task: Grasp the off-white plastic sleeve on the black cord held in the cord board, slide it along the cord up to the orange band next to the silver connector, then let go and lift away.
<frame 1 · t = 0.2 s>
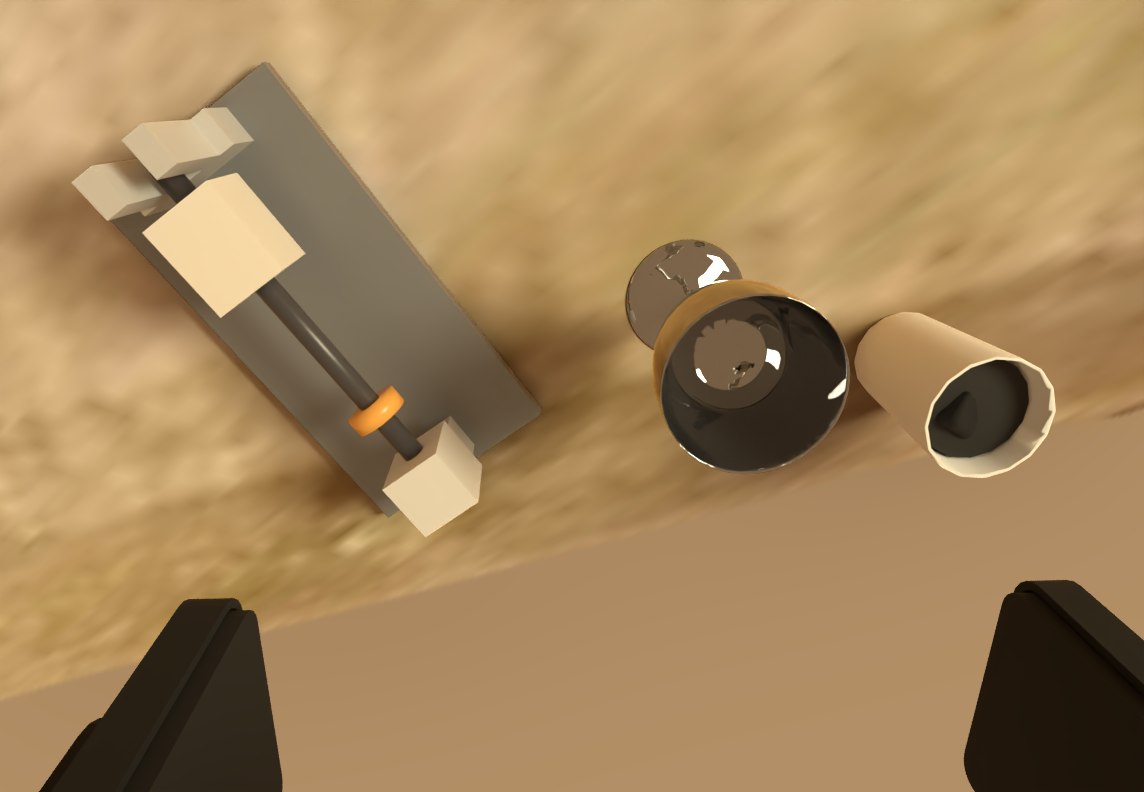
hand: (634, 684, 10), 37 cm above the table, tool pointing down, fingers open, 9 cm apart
beige cup: (898, 355, 48), on the table
wine glass: (685, 298, 46), on the table
cord board: (336, 310, 45), on the table
sleeve: (228, 243, 38), point 6 cm above the table, slide at -6.0 cm
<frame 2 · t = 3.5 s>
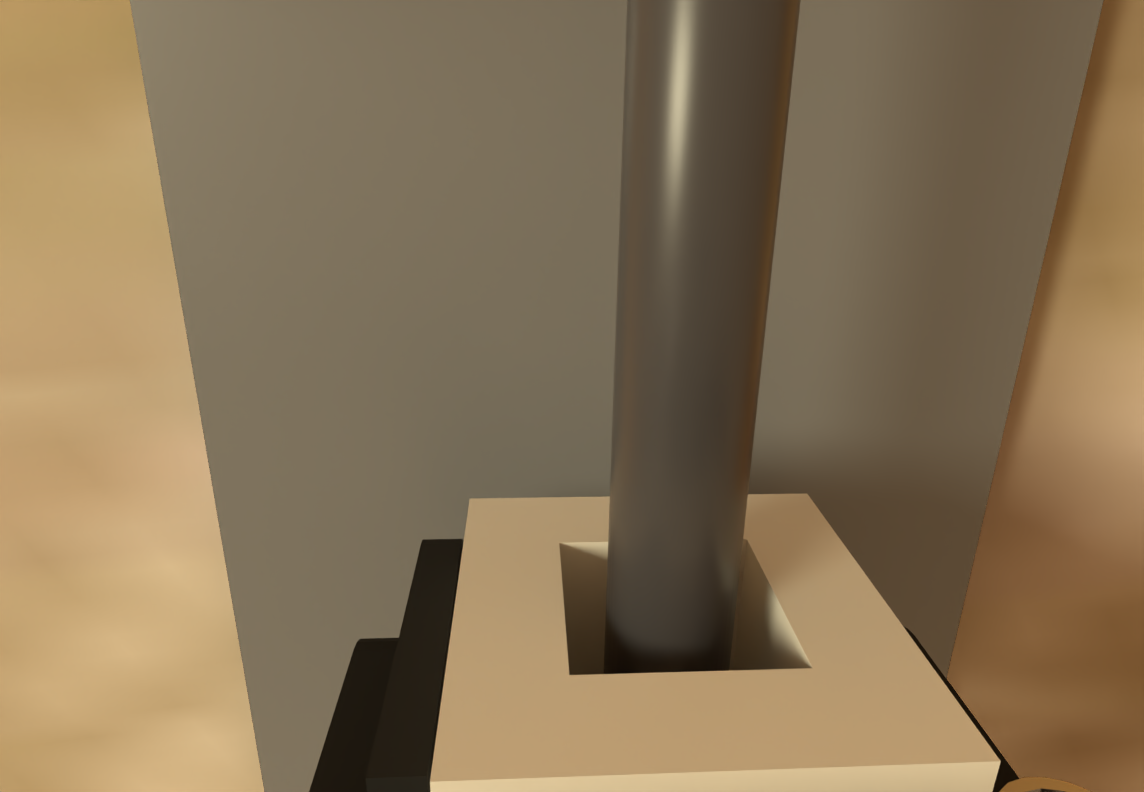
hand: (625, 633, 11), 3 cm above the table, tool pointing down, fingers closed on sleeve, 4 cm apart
cord board: (617, 164, 11), on the table
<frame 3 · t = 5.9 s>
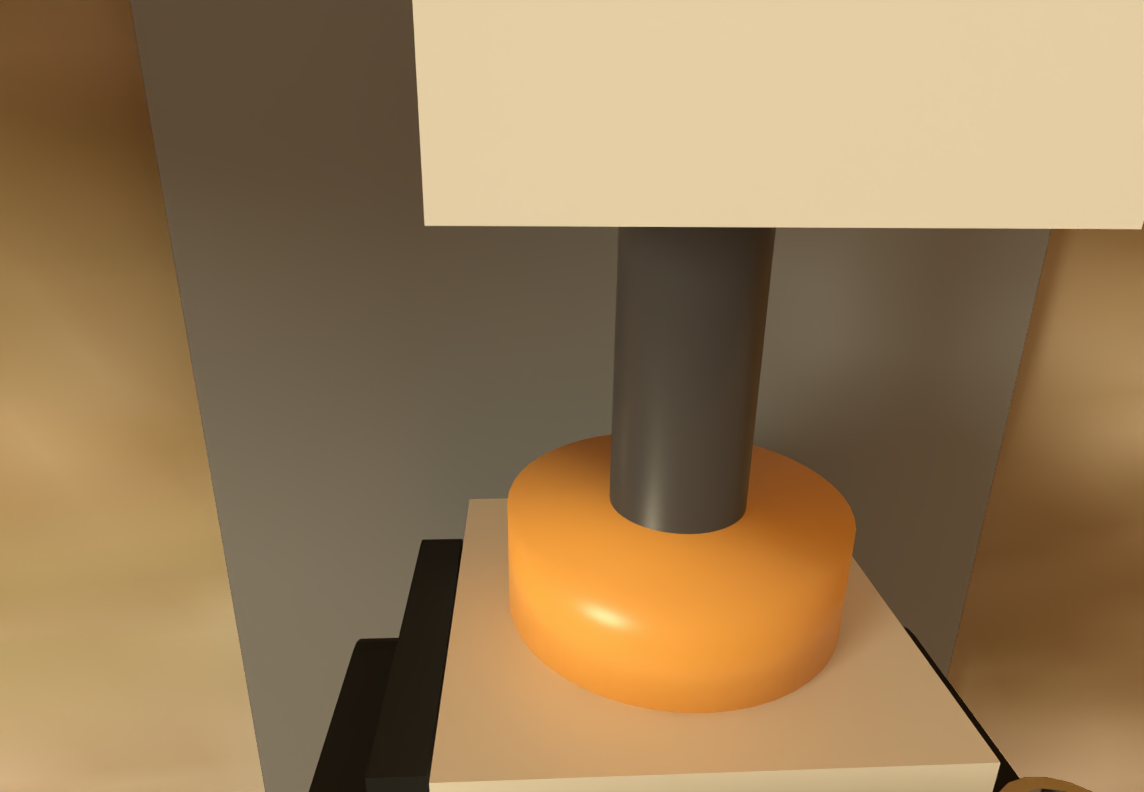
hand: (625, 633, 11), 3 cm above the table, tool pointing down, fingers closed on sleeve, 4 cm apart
cord board: (602, 622, 14), on the table
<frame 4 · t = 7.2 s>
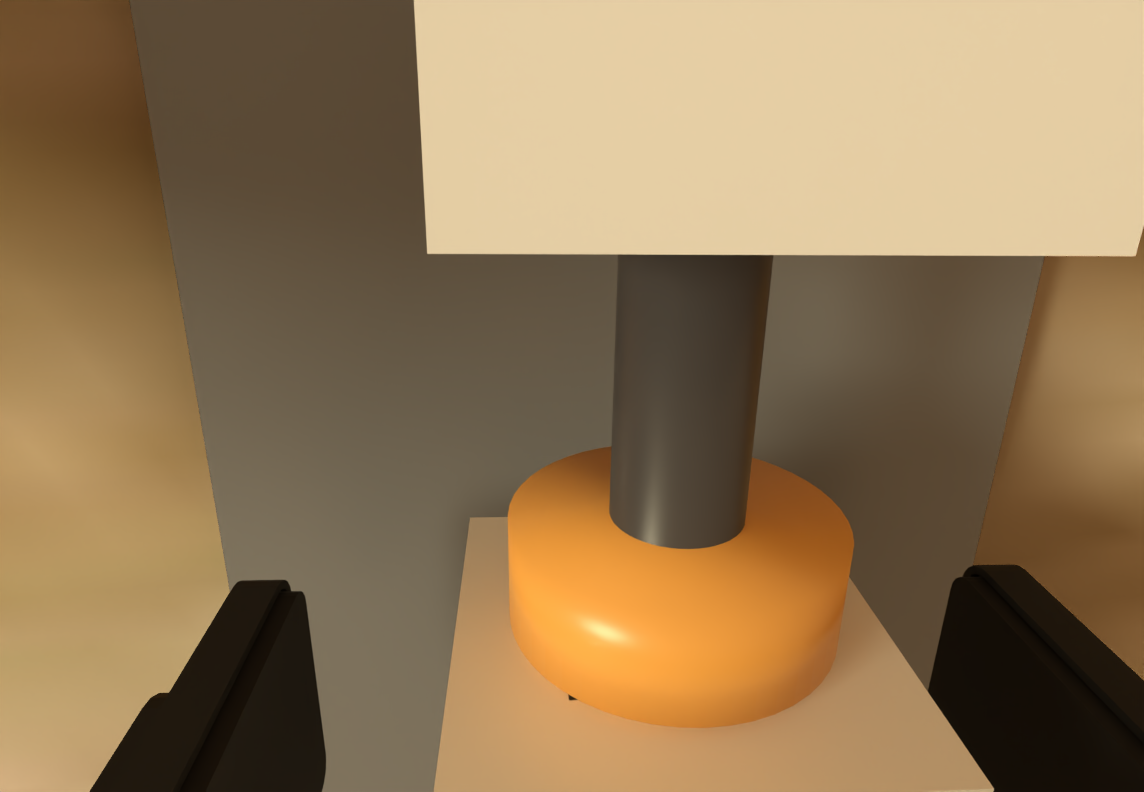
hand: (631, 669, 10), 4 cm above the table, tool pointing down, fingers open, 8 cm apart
cord board: (601, 629, 14), on the table
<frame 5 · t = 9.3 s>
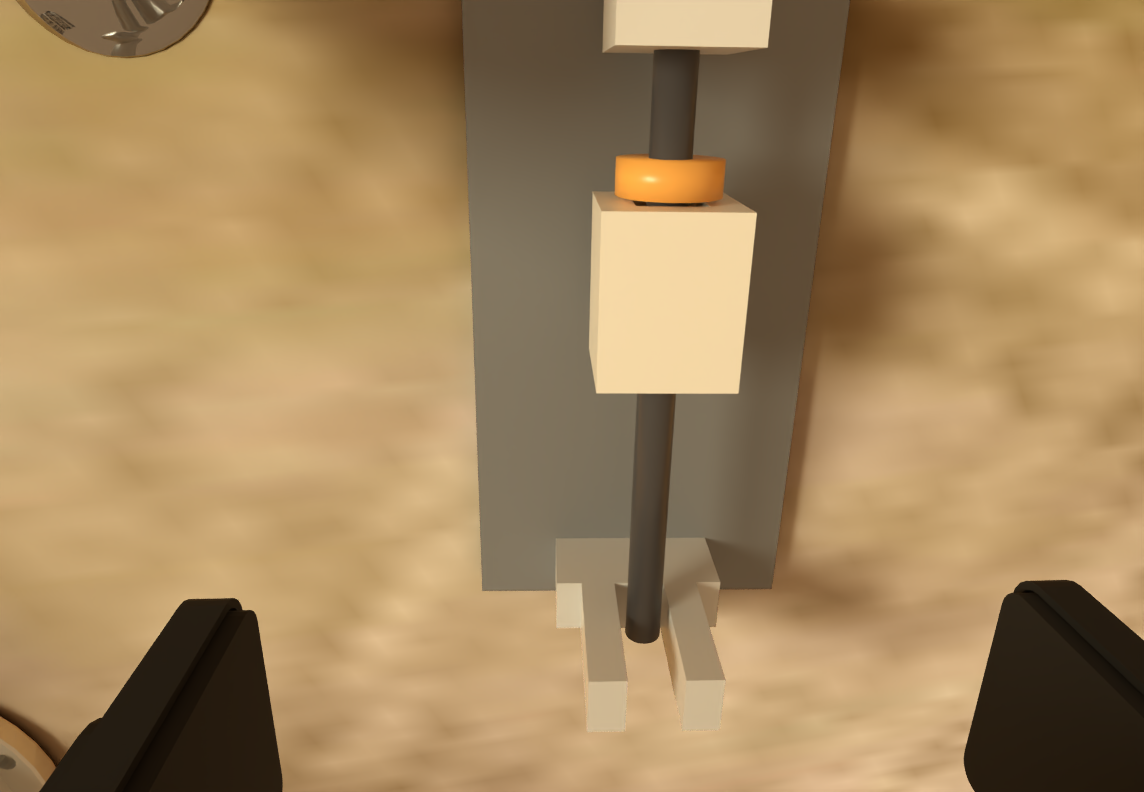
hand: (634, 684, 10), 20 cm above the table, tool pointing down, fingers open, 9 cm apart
cord board: (638, 301, 28), on the table
sleeve: (662, 288, 22), point 6 cm above the table, slide at 1.8 cm
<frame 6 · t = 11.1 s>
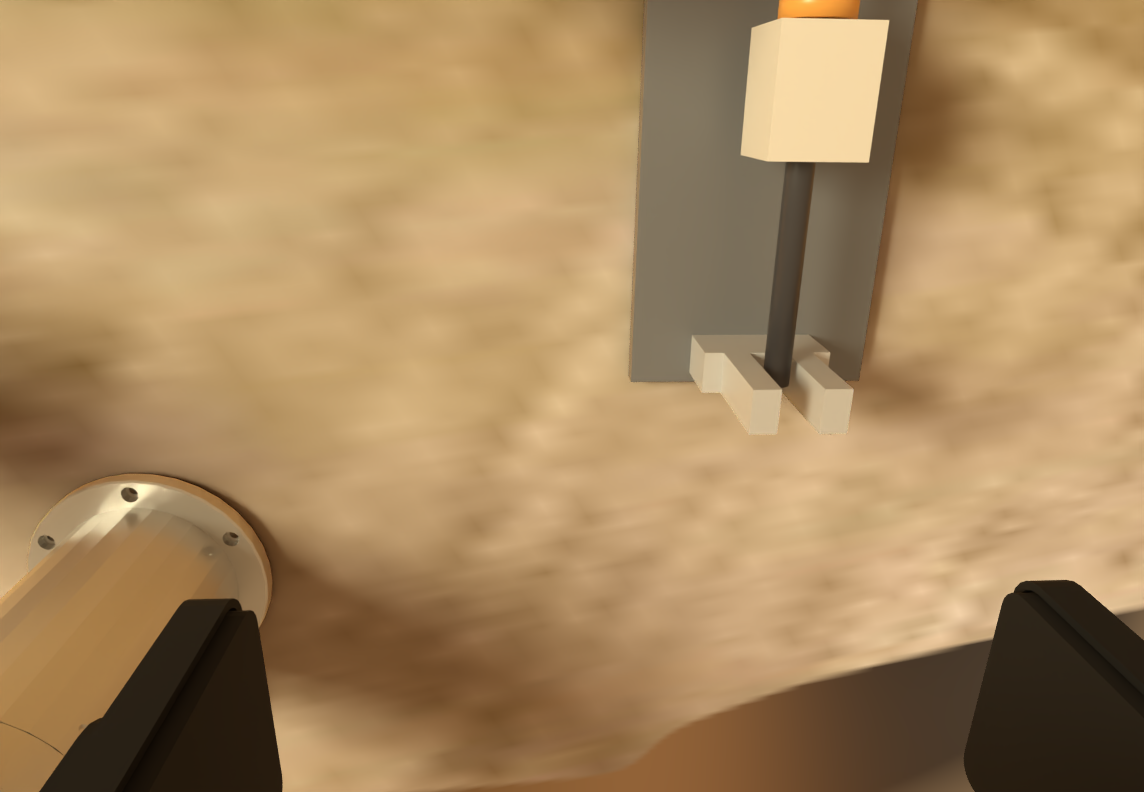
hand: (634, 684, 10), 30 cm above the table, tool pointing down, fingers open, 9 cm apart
cord board: (764, 136, 37), on the table
sleeve: (808, 93, 31), point 6 cm above the table, slide at 1.8 cm
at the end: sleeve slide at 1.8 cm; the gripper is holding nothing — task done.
